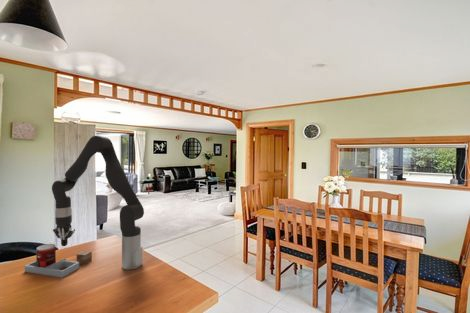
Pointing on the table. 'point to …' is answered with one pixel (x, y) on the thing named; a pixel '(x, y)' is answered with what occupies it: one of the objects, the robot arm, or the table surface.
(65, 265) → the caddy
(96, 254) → the table surface
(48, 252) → the canned food
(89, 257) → the walnut cube
